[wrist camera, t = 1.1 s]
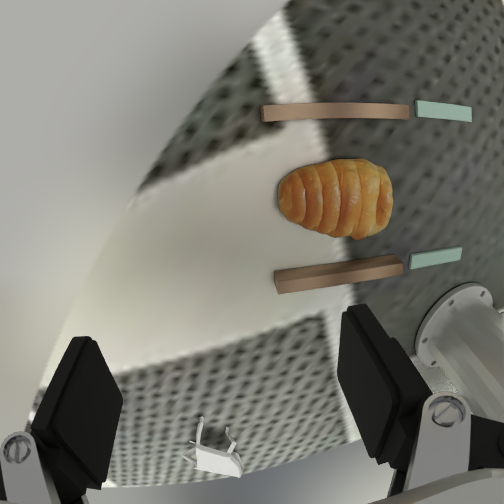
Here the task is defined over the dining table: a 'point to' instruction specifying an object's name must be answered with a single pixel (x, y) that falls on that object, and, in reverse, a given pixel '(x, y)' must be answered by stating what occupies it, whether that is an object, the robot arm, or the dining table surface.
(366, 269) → the chute
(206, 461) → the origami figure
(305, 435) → the dining table surface
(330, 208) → the pastry
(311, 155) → the dining table surface
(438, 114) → the strips
